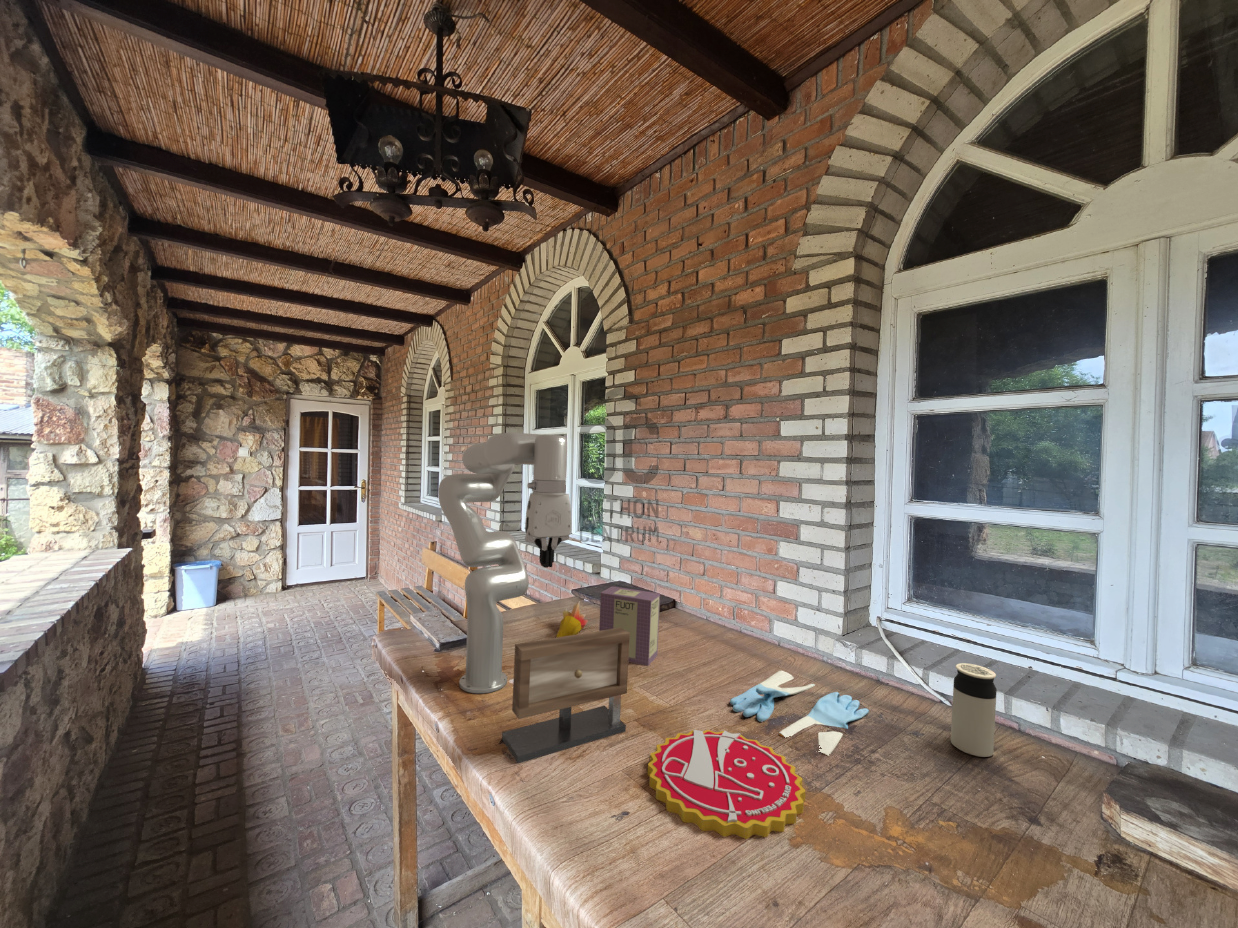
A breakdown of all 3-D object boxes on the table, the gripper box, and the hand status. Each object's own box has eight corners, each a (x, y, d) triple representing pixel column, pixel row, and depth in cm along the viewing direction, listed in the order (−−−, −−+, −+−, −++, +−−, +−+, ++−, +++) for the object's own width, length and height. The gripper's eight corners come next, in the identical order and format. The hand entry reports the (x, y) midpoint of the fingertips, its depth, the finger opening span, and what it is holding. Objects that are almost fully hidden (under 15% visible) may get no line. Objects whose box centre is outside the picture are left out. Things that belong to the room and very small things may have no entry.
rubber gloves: (875, 708, 133) (876, 684, 133) (827, 759, 109) (829, 730, 109) (778, 674, 152) (778, 653, 151) (719, 711, 128) (720, 686, 128)
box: (657, 655, 161) (660, 593, 161) (648, 665, 153) (650, 600, 152) (609, 645, 167) (611, 586, 167) (598, 655, 159) (600, 592, 159)
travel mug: (980, 761, 109) (985, 679, 109) (943, 742, 116) (947, 665, 116) (1000, 753, 113) (1004, 673, 113) (962, 734, 120) (966, 660, 120)
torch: (556, 659, 163) (574, 625, 188) (577, 651, 162) (593, 617, 186) (544, 637, 163) (564, 605, 187) (565, 628, 161) (582, 597, 186)
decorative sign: (658, 719, 117) (793, 739, 111) (657, 730, 117) (792, 751, 111) (637, 806, 88) (818, 840, 82) (636, 821, 88) (818, 856, 82)
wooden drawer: (512, 710, 106) (515, 644, 105) (617, 686, 119) (620, 627, 119) (519, 720, 102) (522, 651, 102) (628, 694, 115) (631, 633, 115)
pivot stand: (501, 738, 111) (504, 666, 111) (604, 711, 124) (606, 647, 124) (517, 763, 102) (520, 685, 102) (625, 731, 116) (628, 662, 116)
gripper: (524, 489, 110) (521, 572, 110) (585, 489, 118) (582, 567, 118) (512, 486, 116) (510, 565, 117) (571, 486, 124) (568, 560, 124)
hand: (546, 566), depth 117 cm, fingers closed
